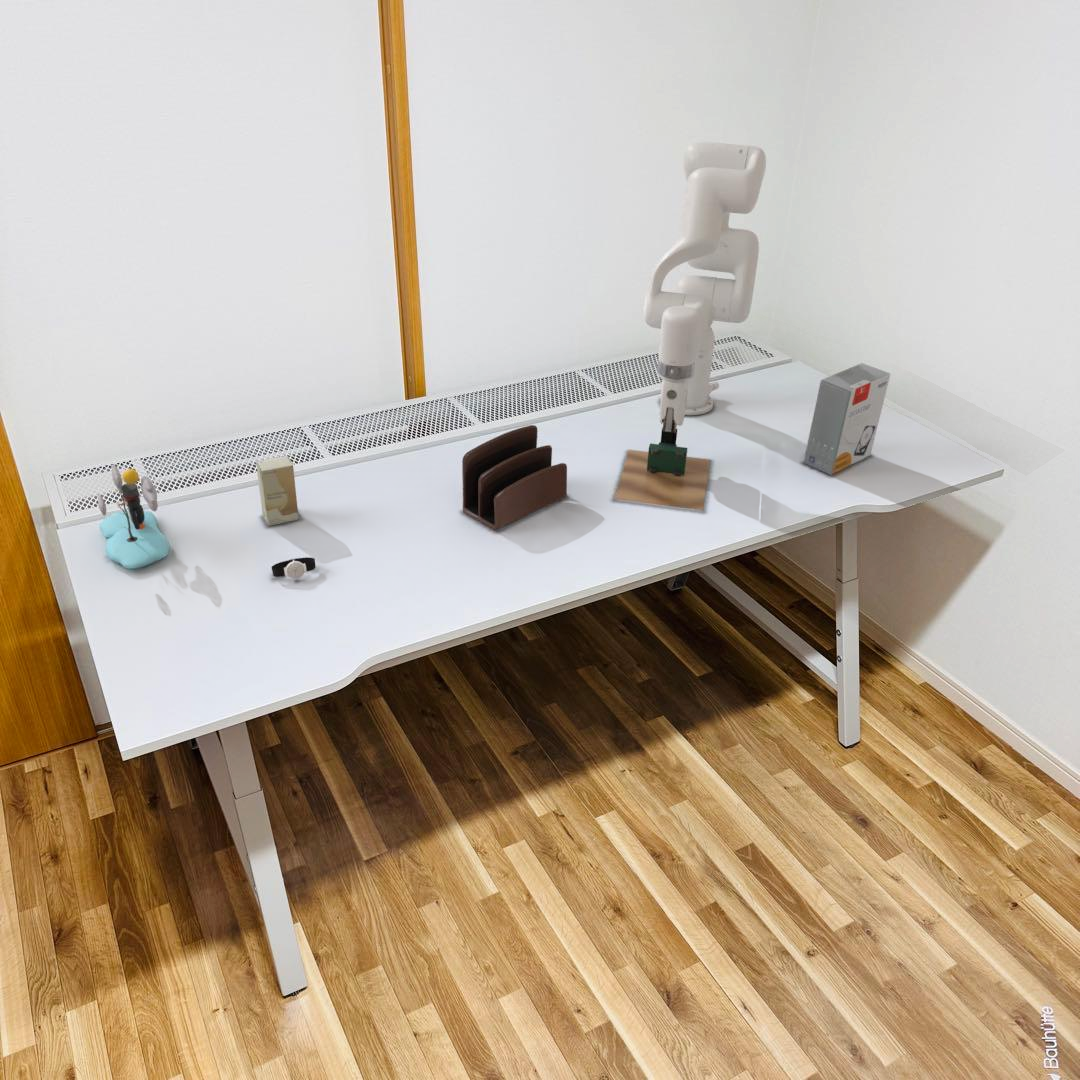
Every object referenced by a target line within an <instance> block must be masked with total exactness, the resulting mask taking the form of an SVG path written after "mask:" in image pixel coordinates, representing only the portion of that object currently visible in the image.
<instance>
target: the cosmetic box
mask: <svg viewBox="0 0 1080 1080" xmlns="http://www.w3.org/2000/svg"><path fill="white" fill-rule="evenodd" d="M255 464H256V473H257V479H258V480H257V481H258V488H259V496H260V504H261V512H262V517H263V519H264V521H265V523H266V525H267V526H274V525H279V524H283V523H284V524H285V523H289V522H293V521H298V520H300V518H299V509H298V508H299V507H298V499H297V491H296V490H297V489H296V480H295V470H294V464H293V462H292V460H291V458H290V457H289V456H288V455H285V456H279V457H272V458H271V457H270V458H267V459H263V460H255Z"/></svg>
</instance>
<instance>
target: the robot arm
mask: <svg viewBox="0 0 1080 1080" xmlns="http://www.w3.org/2000/svg"><path fill="white" fill-rule="evenodd" d="M682 162H683V163H682V165H683V170H684V171H683V172H684V175H685V180H686V186H685V191H684V192H685V193H684V198H683V205H682V209H681V210H682V212H681V217H680V223H679V228H678V235H677V239H676V241H675V243H674V244H673V245H672V246H671V247H670V248H668V249H667V250H666V251H665V252H664V253H663V254H662V255H661V256H660V258H659V259H657V262H655V264H654V265H653V268H652V270H651V273H650V274H649V279H648V283H647V289H646V293H645V299H644V305H643V318H644V322H645V324H647V326H649V327H651V328H653V329H660V337H659V339H660V340H659V346H658V347H659V348H658V357H657V358H658V359H657V369H656V374H657V376H658V378H660V379H661V386H660V387H661V388H660V398H659V399H660V400H659V423H660V424H661V425H662V428H661V435H660V442H661V443H669V444H677V437H678V428H677V427H678V426H679V427H681V426H682V425H684V422H685V416H699V415H703V414H704V415H705V414H706V413H708V412H710V411H712V409H713V407H714V401H713V399H712V398H711V397H710V394H711V393H712V392H713V391H716V390H718V389H719V388H720V384H719V382H718V381H712V382H711V383H710V379H711V374H712V373H711V372H712V364H713V356H714V350H715V349H714V348H715V340H716V339H715V333H714V330H713V329H712V325H713V323H714V322H720V323H721V322H722V323H731V324H741V323H744V322H745V321H746V320H747V319H748V318H749V316H750V315H749V314H750V312H751V308H752V302H753V296H754V289H755V284H756V283H755V282H756V276H757V269H758V268H757V267H758V262H759V252H760V242H759V238H758V236H757V234H756V233H755V232H754V231H752V230H749V229H743V228H732V227H730V226H729V224H730V223H729V222H730V214H742V215H746V214H750V213H752V211H753V210H754V208H755V207H756V205H757V202H758V199H759V196H760V192H761V188H762V185H763V180H764V178H765V173H766V167H767V157H766V153H765V151H764V150H763V149H762V148H760V146H759V147H758V146H754V145H744V144H731V143H724V142H723V143H722V142H708V141H704V142H695V143H690V144H689V145H688V146H687V147H685V150H684V152H683V161H682ZM684 263H687V264H688V265H689V266H690V267H691V268H693V269H696V270H697V269H698V270H703V271H708V272H709V271H710V272H719V273H727V274H732V275H733V276H734V279H732V278H723V277H717V276H708V275H707V276H706V275H687V276H684V277H682V278H681V279H679V280H678V282H677V283H676V285H675V288H674V292H672V291H664V290H663V291H662V287H663V284H664V281H665V278H666V277H667V275H668V274H669V273H670V272H671V271H672V270H674V269H675V268H677V267H678V266H680V265H682V264H684Z"/></svg>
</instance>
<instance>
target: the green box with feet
mask: <svg viewBox="0 0 1080 1080" xmlns="http://www.w3.org/2000/svg"><path fill="white" fill-rule="evenodd" d="M647 452H648V462H647V470H649V472H650V473H657V472H665V473H673V474H674V475H675V476H681V475H684V473H685V466H686V457H688V447H683V446H678V445H677V443H676V444H669V443H661V441H660V442H658V443H649V445H648V450H647Z"/></svg>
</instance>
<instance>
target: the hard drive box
mask: <svg viewBox="0 0 1080 1080" xmlns="http://www.w3.org/2000/svg"><path fill="white" fill-rule="evenodd" d="M890 378H891V372H887V371H884V370H882V369H880V368H877V367H874V366H871V365H868V364H865V363H863V362H860V363H859V364H856V365H854V366H851V367H849V368H847V369H843V370H842V371H839V372H837V373H834V374H832V375H829V376H826V377H825V378H822V379H821V380H820V382H819V385H818V386H819V387H818V392H817V396H816V401H815V406H814V410H813V415H812V420H811V424H810V429H809V433H808V438H807V443H806V447H805V452H804V456H803V463H804V464H806V465H808V466H810V467H812V468H814V469H817V470H818V471H821V472H822V473H826V474H827V475H830V476H832V475H834V474H836V473H838V472H841V471H843V470H844V469H846V468H848V467H850V466H852V465H854V464H856V463H858V462H861V461H862V460H864V459H866V458H868V457H870V456H871V455H872V451H873V447H874V443H875V438H876V435H877V431H878V427H879V422H880V418H881V414H882V410H883V406H884V402H885V398H886V393H887V390H888V386H889V381H890Z"/></svg>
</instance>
